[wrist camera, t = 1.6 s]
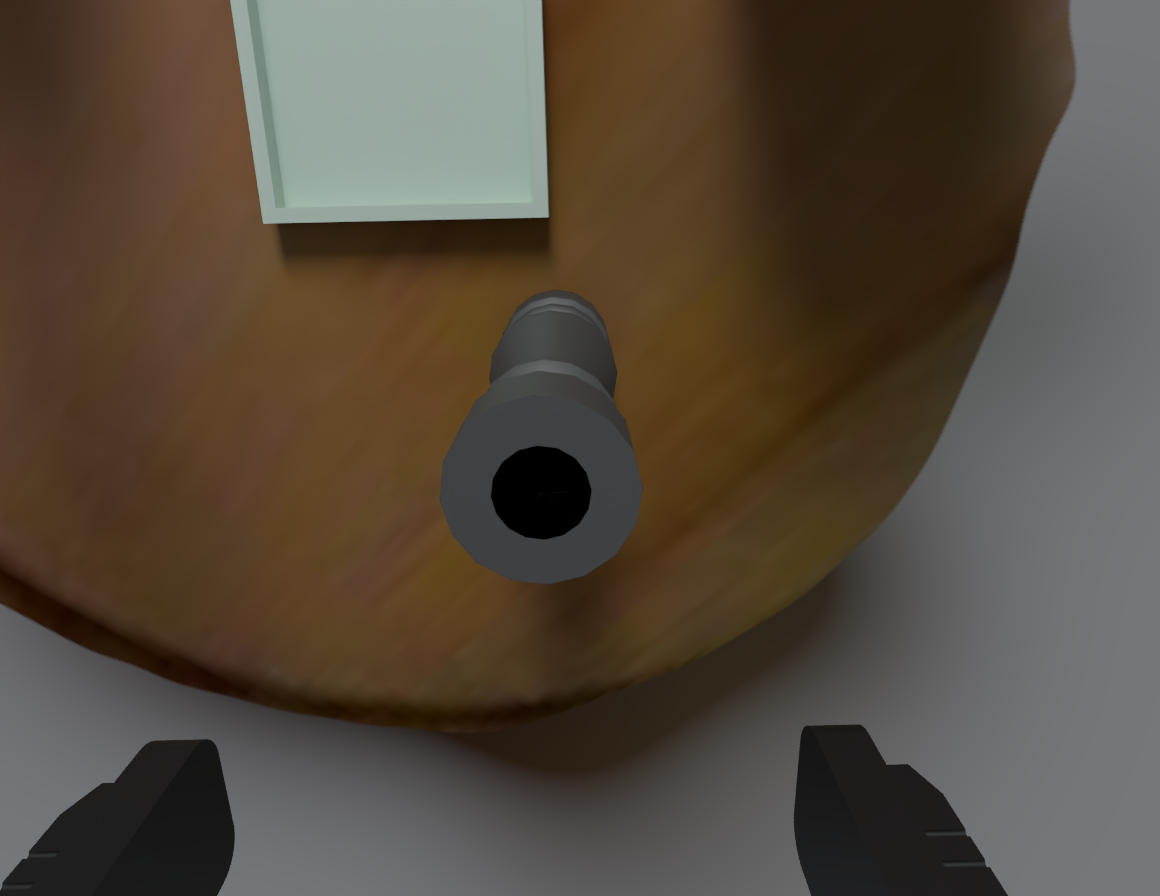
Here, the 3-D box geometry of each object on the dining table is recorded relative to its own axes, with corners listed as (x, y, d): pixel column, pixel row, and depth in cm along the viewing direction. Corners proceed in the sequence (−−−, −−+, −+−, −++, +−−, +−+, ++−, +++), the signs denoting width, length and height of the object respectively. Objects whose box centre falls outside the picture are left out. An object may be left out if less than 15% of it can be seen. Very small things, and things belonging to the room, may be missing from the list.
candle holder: (561, 412, 46) (551, 630, 22) (484, 345, 44) (384, 502, 20) (629, 337, 44) (697, 484, 20) (552, 267, 43) (528, 337, 19)
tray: (277, 222, 42) (263, 223, 40) (231, -99, 37) (213, -116, 35) (549, 217, 42) (548, 217, 40) (539, -105, 37) (537, -122, 35)
